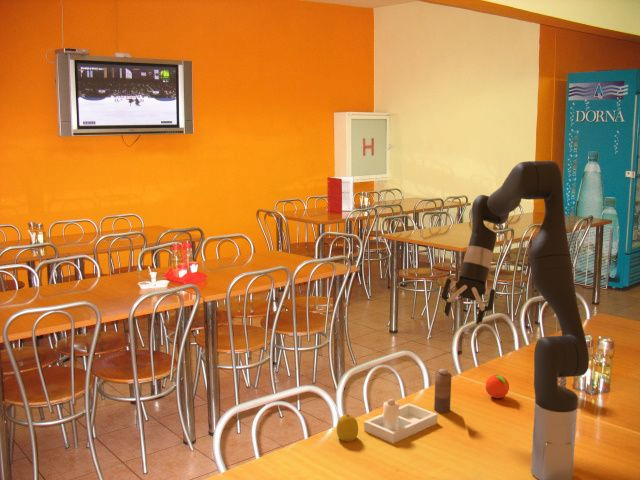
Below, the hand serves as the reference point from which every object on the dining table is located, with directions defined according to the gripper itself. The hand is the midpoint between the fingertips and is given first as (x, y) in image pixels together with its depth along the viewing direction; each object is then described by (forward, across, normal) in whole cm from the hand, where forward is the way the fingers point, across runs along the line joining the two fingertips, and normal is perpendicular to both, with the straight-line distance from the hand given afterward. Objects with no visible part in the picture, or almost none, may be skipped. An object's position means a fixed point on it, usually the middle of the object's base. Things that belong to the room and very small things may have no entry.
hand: (462, 320), depth 192 cm
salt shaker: (+34, -9, -12) cm, 37 cm away
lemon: (+40, -18, -18) cm, 47 cm away
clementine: (+18, +12, +23) cm, 32 cm away
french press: (+12, +27, +33) cm, 44 cm away
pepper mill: (+27, 0, +6) cm, 27 cm away
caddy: (+34, -7, -8) cm, 35 cm away
